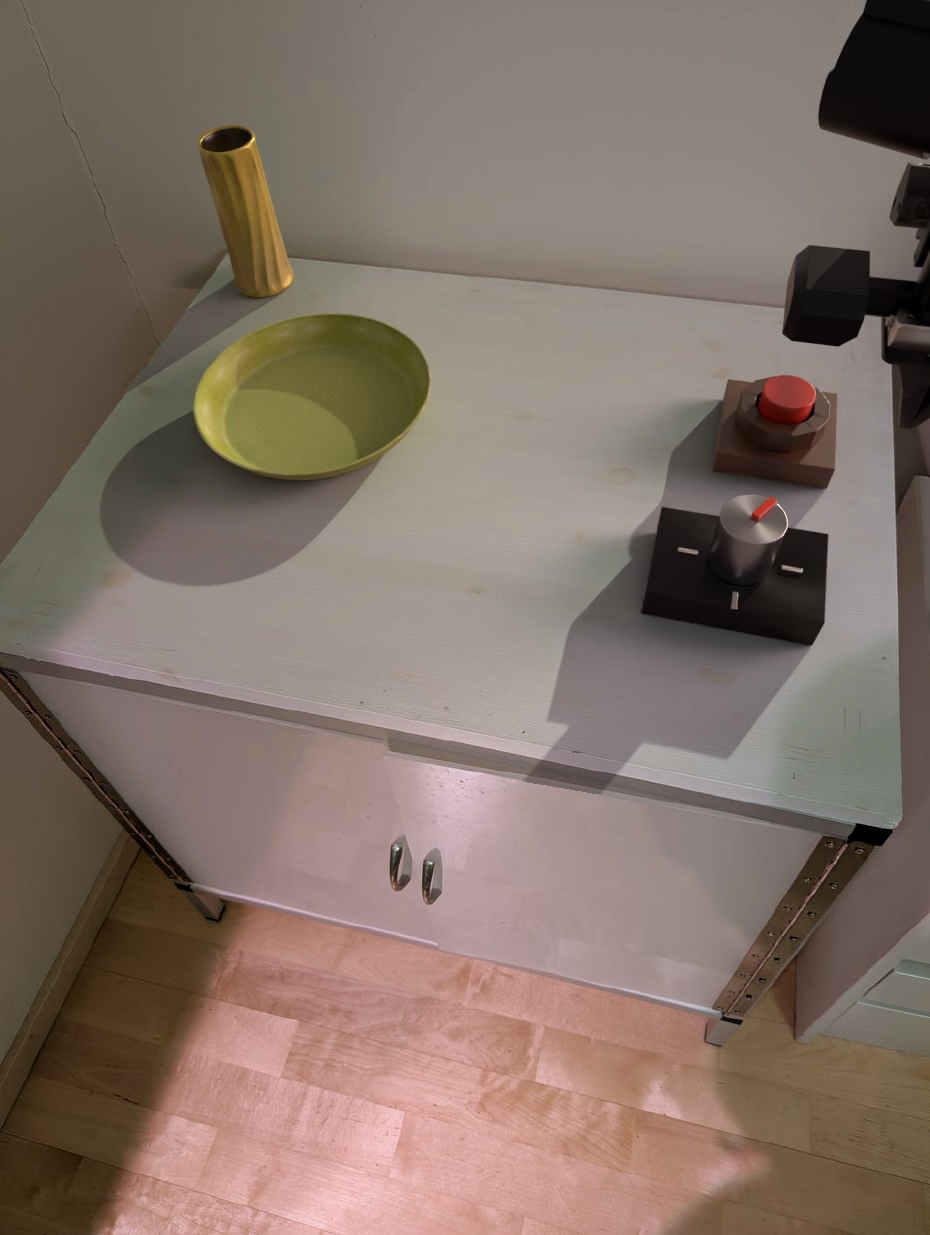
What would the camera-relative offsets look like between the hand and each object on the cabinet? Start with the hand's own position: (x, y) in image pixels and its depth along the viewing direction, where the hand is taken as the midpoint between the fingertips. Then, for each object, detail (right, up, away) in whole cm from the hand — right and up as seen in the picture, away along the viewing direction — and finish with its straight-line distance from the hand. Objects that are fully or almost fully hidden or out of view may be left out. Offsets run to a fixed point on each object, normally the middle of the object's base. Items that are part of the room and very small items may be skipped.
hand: (904, 424), depth 54 cm
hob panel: (-9, -10, +8) cm, 16 cm away
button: (-3, +4, +13) cm, 14 cm away
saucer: (-41, +6, +21) cm, 47 cm away
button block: (-3, +2, +16) cm, 17 cm away
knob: (-9, -8, +6) cm, 13 cm away
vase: (-49, +23, +33) cm, 64 cm away
